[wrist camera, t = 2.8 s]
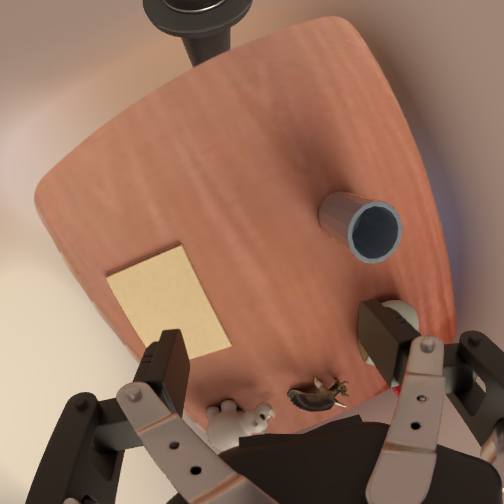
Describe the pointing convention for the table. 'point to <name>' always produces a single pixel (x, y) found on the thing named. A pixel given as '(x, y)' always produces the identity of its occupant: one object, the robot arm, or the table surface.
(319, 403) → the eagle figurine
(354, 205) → the cup
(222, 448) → the chubby cartoon animal
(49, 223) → the table surface
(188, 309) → the mat
